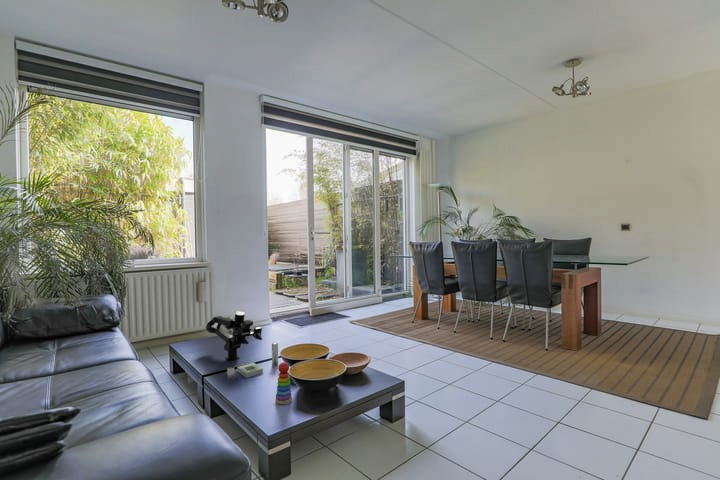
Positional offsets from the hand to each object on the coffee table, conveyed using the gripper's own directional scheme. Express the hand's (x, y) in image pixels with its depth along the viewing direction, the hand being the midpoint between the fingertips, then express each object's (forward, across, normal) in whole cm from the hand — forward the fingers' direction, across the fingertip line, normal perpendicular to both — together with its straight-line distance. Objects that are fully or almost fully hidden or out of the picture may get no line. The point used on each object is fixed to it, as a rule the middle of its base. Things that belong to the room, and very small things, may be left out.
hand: (255, 341), depth 216 cm
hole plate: (+6, -5, +15) cm, 17 cm away
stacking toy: (+48, -15, +5) cm, 51 cm away
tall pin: (+8, +11, +15) cm, 20 cm away
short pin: (+6, -17, +15) cm, 24 cm away
